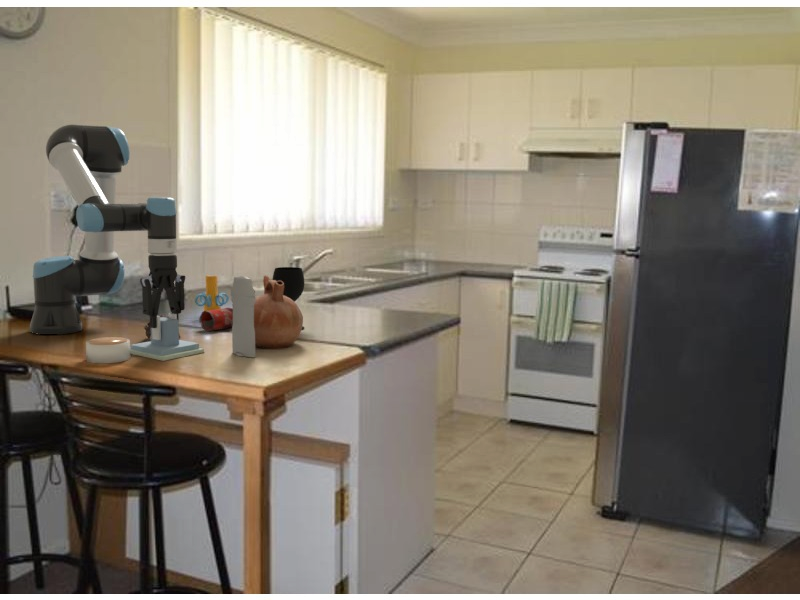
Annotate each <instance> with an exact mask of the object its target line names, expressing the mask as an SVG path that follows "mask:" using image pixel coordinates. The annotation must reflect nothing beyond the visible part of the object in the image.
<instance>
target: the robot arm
mask: <svg viewBox="0 0 800 600" xmlns="http://www.w3.org/2000/svg"><path fill="white" fill-rule="evenodd" d="M45 154H46V157H47V160H48V162H49V164H50V165H51V167H52V168H54V169H55V170H57V171H58V172H59V174H60V177H61V178H62V179H63V181H64V184H66V186H67V188H68V190H69V191H70V193H71V195H72V197H73V198H74V201H75V202H76V204H77V208H76V211H75V212H76V213H75V215H76V216H75V218H76V222H77V227H78V228H79V230H81V231H82V232H85V236H84V239H85V240H84V249H82V250H81V251H80V252H79V258H78V259H75V258H74V257H73V256H72V255H61V256H59V255H58V256H52V257H46V258H42V259H41V258H40V259H38V260H36V261H35V262H34V264H33V266H32V268H33V270H32V278H33V291H34V292H33V294H34V296H33V297H34V310H33V313H32V318H31V321H30V323H29V332H30V331H31V332H33V333H38V334H37V335H40V334H57V335H66V334H73V333H78V332H80V331H82V330H83V322H82V320H81V318H80V315H79V312H78V309H77V307H76V298H77V297H88V296H89V297H90V296H100V295H101V296H106V295H111V294H116V293H117V292H118V291H119V290H120V289H121V288H122V286H123V283H124V280H125V267H124V266H125V265H124V262H123V260H122V259H121V258H119V253H117V252H116V251H115V250H114V246H115V245H114V243H115V242H114V240H115V232H147V252H148V256H147V257H148V260H147V261H148V269H149V273H148V276H146V277H145V278H143V277H142V278H140V280H139V282H140V285H141V289H142V291H141V292H142V293H141V295H142V296H141V297H142V315H143V314H144V315H147V316H149V322H150V327H151V328H152V339H155V340H161V323H160V316H161V315H159V309H160V306H161V305H160V304H161V299H162V298H161V297H162V293H163V292H164V291H165V295H166V297H167V302H168V307H169V309H170V312H168V313H167V315H168V316H167V317H168V318H171V319H177V320H179V315H180V314H181V313H182V311H184V310H185V308H186V307H185V306H186V305H185V281H186V275H182V274H178V272H177V268H178V256H177V254H176V253H177V252H178V249H177V246H178V245H177V208H176V207H177V206H176V200H175V199H174V197H173V198H172V197H160V196H159V197H153V196H152V197H148V198H147V200H146V203H142V202H139V203H116V187H117V177H118V176H119V175H120V174H121V173H122V169H123V168H122V167H124V166H126V165H127V164H128V163H129V160H130V147H129V142H128V138H127V137H126V135H125V133H124V131H122V129H120V128H118V127H112V126H108V125H107V126H105V125H85V124H84V125H83V124H82V125H81V124H66V125H63V126H61V127H58V128H57V129H56V130H54V131H53V132H52V134H51V135H49V138H48V139H47V142H46V146H45ZM33 333H32V334H33Z"/></svg>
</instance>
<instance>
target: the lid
mask: <svg viewBox="0 0 800 600" xmlns="http://www.w3.org/2000/svg"><path fill="white" fill-rule="evenodd" d="M179 322H180V321H179V320H177V319H171V318H167V317H166V318H165V317H160V323H161V340H155V339H152V328H151V337H150V341H145V342H144V341H143V342H138V343H133V344H130V348H131V350H135V351H139V352H144V353H149V354H154V355H159V356H163V355H168V354H173V353H179V352H184V351H189V350H194V349H199V348H200V343H198V342H193V341H189V340H188V341H187V340H181V339H180V338H179V334H180V328H179V327H180V326H179V325H180V324H179Z"/></svg>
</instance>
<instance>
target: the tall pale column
mask: <svg viewBox="0 0 800 600" xmlns="http://www.w3.org/2000/svg"><path fill="white" fill-rule="evenodd" d="M252 280H253V279H252V278H249V277H247V276H244V275H238V276H234V277H233V282H232V286H231V288H230V301H231V302H232V304H231V305H232V308H233V326H232V327H231V332H232V333H231V335H232V336H231V338H232V339H231V342H232V343H231V345H232V349H231V350H232V354H233V355H236V356H237V357H245V358H251V359H255V358H256V347H255V330H254V305H255V298H256V291H255V289H254V286H253V281H252Z"/></svg>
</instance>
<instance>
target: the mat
mask: <svg viewBox="0 0 800 600" xmlns="http://www.w3.org/2000/svg"><path fill="white" fill-rule="evenodd" d="M203 353H205V348H201V347H199V349H194V350H189V351H184V352H179V353H173V354H168V355H163V356H159V355H154V354H149V353H144V352H139V351H135V350H131V347H130V355H135V356H139V357H143V358H144V357H145V358H149V359H153V360H159V361H161V362H162V361H169V360H173V359H178V358H179V359H180V358H183V357H187V356H194V355H198V354H203Z"/></svg>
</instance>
